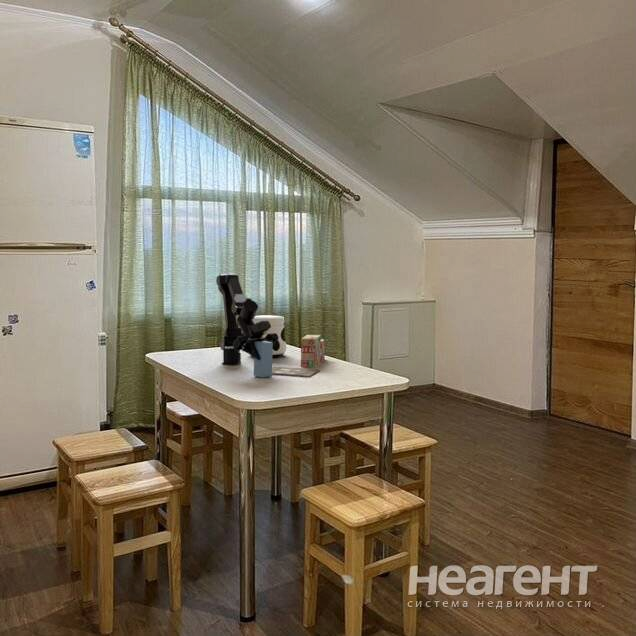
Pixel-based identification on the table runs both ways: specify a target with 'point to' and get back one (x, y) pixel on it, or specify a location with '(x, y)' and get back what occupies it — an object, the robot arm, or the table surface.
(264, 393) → the table surface
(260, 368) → the blue pillar
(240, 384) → the table surface
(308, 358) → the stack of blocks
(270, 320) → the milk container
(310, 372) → the letter board
